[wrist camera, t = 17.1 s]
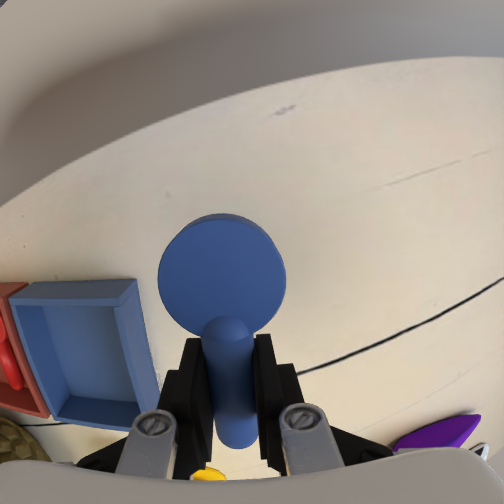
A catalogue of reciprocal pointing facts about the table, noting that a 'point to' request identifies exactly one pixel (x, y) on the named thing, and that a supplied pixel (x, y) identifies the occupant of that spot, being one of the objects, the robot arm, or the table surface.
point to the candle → (208, 475)
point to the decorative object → (18, 444)
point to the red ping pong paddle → (9, 359)
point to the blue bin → (88, 350)
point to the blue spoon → (224, 308)
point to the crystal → (441, 433)
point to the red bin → (19, 364)
